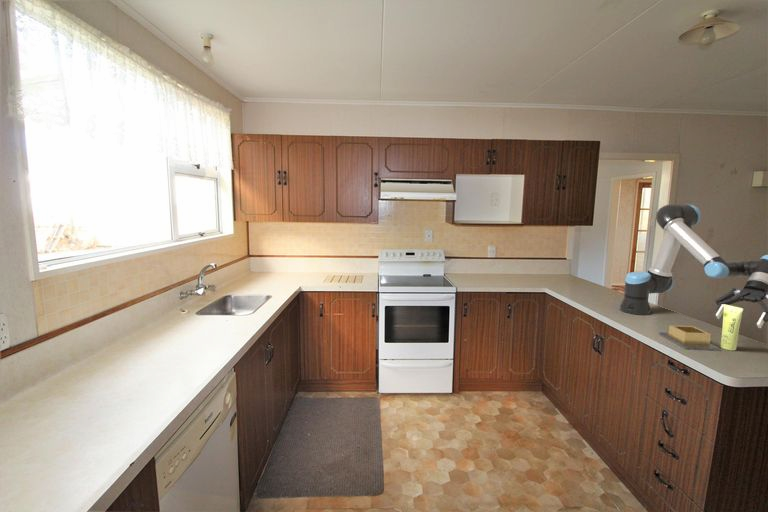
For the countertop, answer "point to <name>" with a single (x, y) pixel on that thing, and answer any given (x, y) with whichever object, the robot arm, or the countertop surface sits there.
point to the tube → (730, 327)
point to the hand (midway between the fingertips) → (737, 321)
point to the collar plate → (690, 338)
